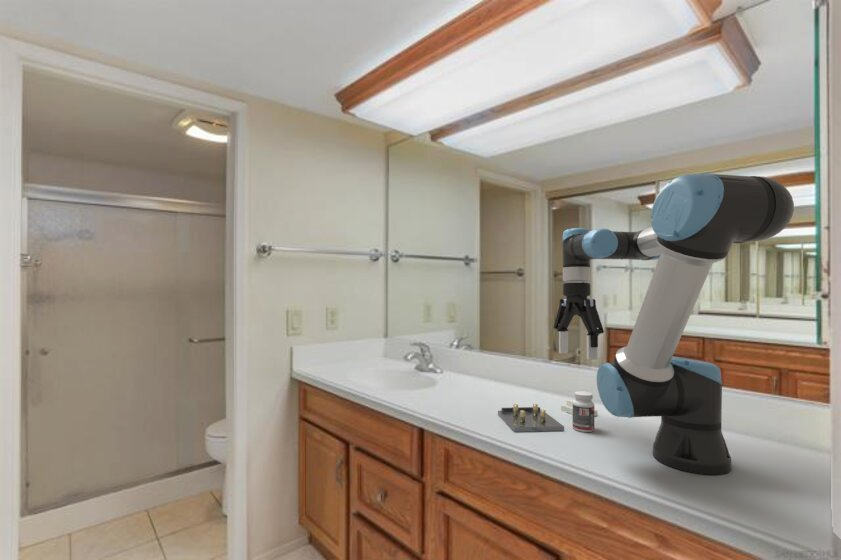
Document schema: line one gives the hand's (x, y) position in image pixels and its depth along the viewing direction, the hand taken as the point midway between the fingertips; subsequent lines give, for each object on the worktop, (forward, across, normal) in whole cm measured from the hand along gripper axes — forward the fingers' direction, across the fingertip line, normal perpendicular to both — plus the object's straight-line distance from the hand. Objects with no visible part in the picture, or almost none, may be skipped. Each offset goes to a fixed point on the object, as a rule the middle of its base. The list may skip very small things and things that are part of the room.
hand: (577, 356), depth 124 cm
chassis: (+19, +5, +12) cm, 24 cm away
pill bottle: (+20, -4, +1) cm, 20 cm away
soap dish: (+19, +10, -8) cm, 23 cm away
